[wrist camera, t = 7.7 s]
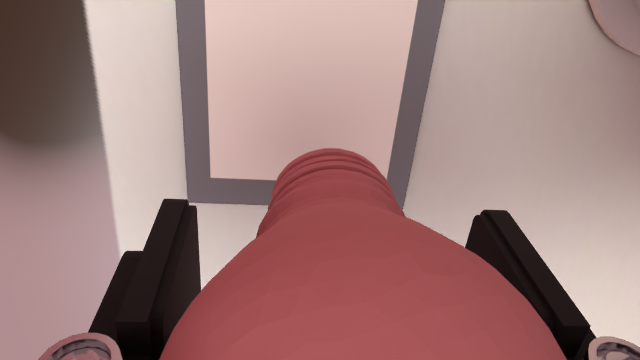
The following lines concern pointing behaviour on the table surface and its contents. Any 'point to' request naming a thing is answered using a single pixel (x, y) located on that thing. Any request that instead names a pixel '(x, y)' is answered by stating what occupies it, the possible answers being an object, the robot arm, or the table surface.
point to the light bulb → (354, 283)
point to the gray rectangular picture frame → (300, 88)
